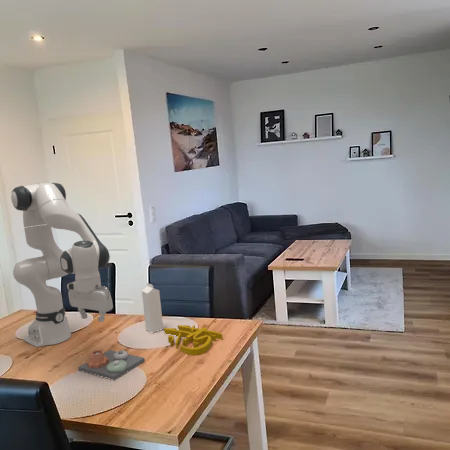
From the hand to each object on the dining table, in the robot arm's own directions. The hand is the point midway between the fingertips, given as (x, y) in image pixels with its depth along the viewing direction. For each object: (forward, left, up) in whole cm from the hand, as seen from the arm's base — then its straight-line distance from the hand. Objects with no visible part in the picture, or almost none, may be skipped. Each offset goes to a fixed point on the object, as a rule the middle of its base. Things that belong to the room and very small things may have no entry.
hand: (92, 319), depth 163 cm
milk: (-5, +38, -19) cm, 43 cm away
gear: (0, 0, -18) cm, 18 cm away
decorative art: (+17, +34, -20) cm, 43 cm away
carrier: (+4, +3, -19) cm, 20 cm away
